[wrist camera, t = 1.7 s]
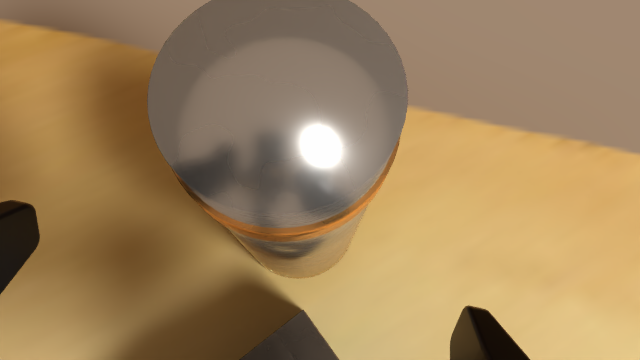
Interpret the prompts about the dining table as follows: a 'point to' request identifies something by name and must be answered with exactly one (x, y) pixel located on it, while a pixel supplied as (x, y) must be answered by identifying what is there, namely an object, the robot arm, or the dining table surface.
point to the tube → (280, 122)
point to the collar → (294, 343)
